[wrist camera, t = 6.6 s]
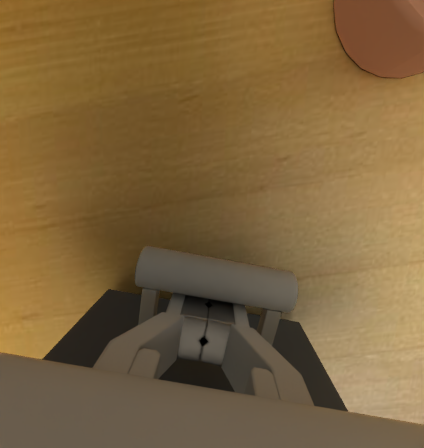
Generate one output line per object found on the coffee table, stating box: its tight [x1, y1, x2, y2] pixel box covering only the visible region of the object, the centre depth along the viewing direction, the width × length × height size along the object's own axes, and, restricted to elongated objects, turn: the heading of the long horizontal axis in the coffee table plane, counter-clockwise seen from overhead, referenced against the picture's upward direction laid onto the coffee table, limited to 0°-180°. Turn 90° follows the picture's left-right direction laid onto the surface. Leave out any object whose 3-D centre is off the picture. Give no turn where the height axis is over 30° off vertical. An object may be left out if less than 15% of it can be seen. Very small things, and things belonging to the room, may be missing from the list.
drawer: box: [42, 246, 348, 412], centre depth 11 cm, size 18×12×8 cm
